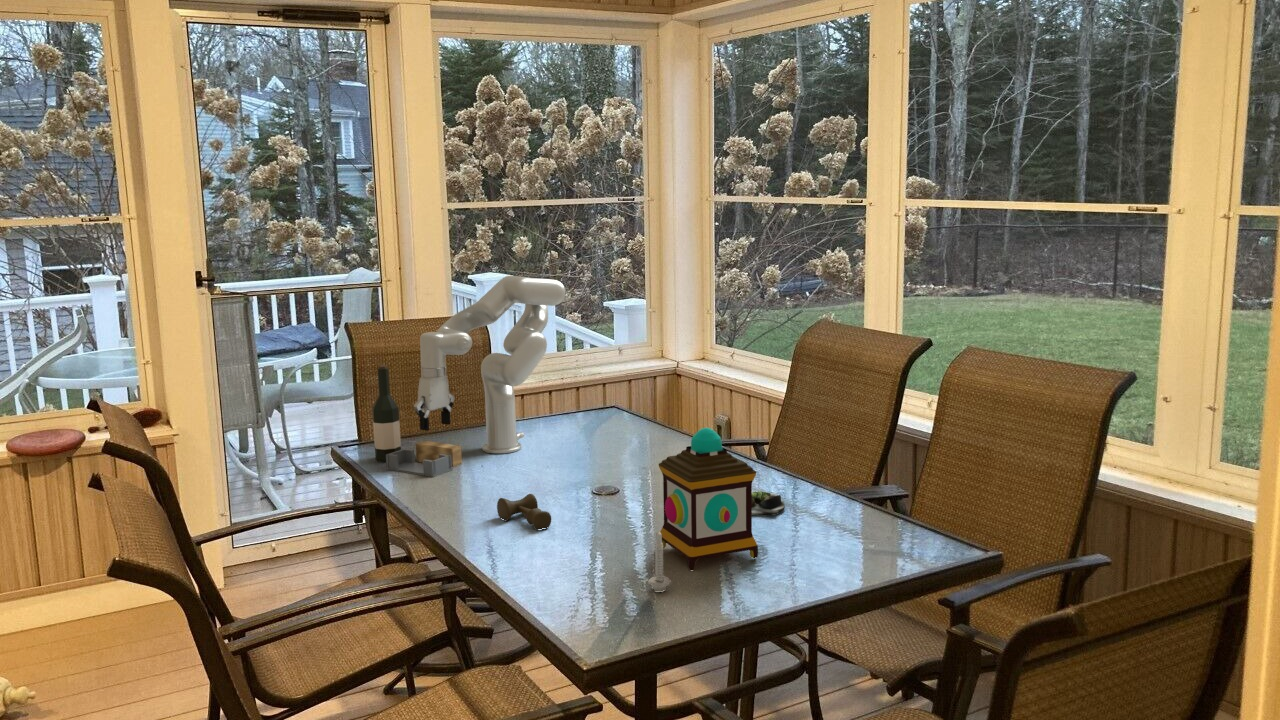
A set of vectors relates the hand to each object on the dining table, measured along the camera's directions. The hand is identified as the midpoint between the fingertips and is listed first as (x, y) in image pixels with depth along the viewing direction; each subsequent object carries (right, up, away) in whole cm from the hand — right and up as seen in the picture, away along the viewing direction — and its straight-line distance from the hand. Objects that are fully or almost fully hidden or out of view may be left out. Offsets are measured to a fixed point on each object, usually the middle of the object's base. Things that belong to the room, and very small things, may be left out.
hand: (435, 427), depth 321 cm
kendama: (+34, -21, -55) cm, 67 cm away
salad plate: (+93, -19, -48) cm, 106 cm away
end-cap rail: (-4, -13, -5) cm, 14 cm away
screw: (+67, -28, -102) cm, 126 cm away
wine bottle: (-16, -11, +8) cm, 21 cm away
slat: (+1, -11, +2) cm, 12 cm away
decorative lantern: (+79, -24, -81) cm, 116 cm away
